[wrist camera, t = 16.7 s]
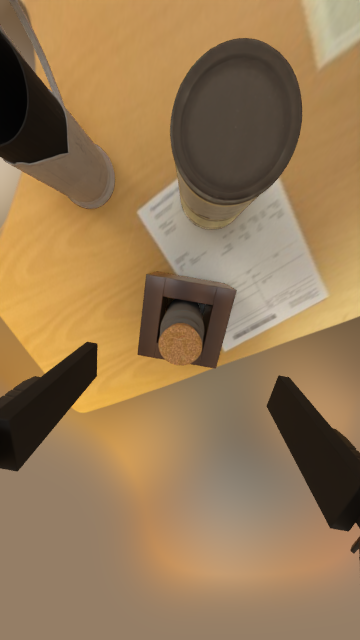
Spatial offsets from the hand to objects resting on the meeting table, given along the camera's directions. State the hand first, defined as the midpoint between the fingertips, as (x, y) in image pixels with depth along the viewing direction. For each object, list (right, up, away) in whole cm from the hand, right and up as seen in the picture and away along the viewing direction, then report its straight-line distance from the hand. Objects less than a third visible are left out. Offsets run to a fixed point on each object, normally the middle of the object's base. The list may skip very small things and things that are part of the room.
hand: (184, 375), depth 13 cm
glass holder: (-15, +29, +14) cm, 35 cm away
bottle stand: (+1, +6, +20) cm, 21 cm away
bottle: (+1, +6, +21) cm, 21 cm away
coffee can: (+5, +23, +15) cm, 28 cm away
